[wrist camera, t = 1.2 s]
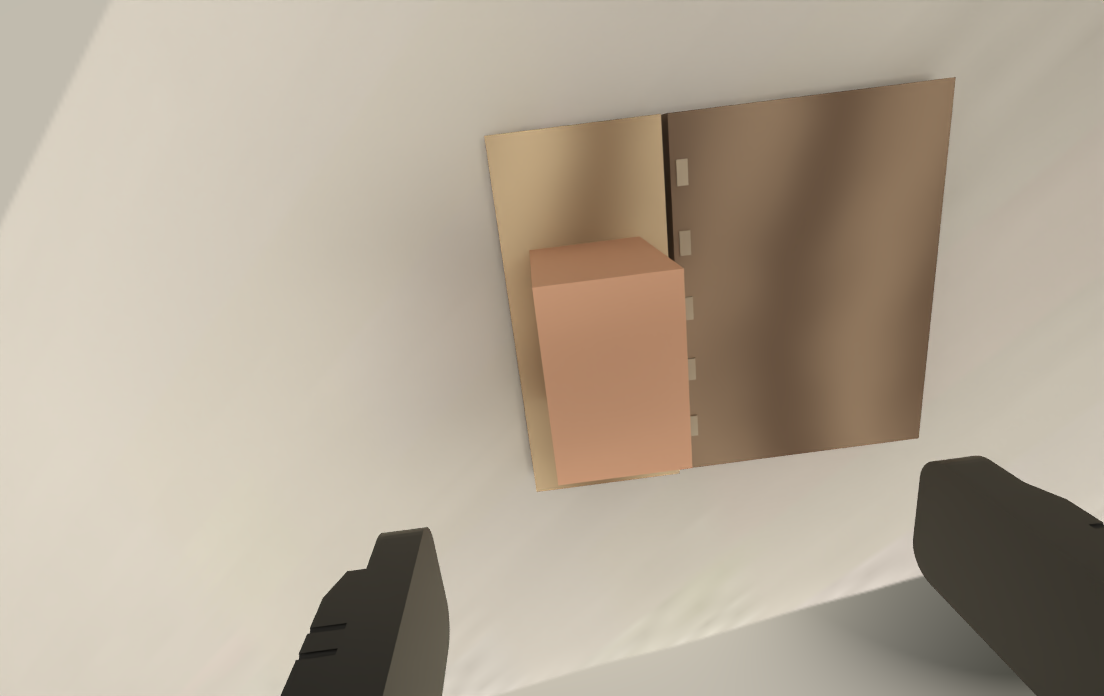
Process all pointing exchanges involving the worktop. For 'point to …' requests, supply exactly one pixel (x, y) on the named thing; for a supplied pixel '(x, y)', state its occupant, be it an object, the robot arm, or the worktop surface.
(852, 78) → the worktop surface
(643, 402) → the stub
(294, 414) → the worktop surface
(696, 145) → the brown notebook
